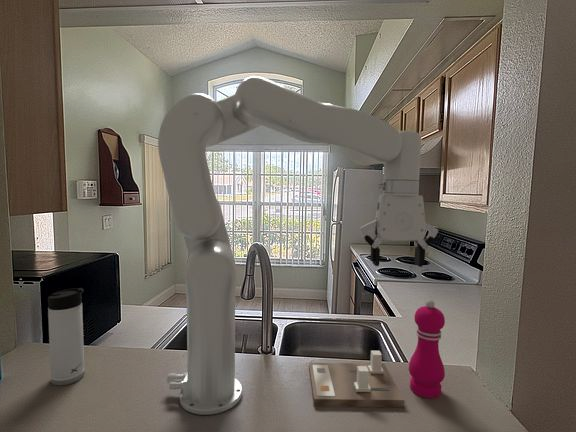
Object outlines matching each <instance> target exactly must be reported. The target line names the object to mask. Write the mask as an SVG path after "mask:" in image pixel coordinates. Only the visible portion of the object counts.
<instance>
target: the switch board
mask: <svg viewBox="0 0 576 432" xmlns="http://www.w3.org/2000/svg"><path fill="white" fill-rule="evenodd" d="M308 365H309V366H308V370H309V372H308V373H309V379H310V385H311V394H312V401H313V407H340V408H341V407H345V408H346V407H349V408H351V407H353V408H354V407H355V408H366V407H367V408H405V399H404V396H403V395H402V393H401V391H400V389H399V388H398V386H397V384H396V382H395V381H394V379H393V377H392V375H391V374H390V371H389V370H388V369H387V367H386V364H385V363H381V367H382V369H383V371H384V374H377V373H370V372H369V382H368V383H369V386H370V388H371V392H356V390H355V387H354V382H357V366H367V368H368V365H370V363H362V362H361V363H360V362H359V363H353V362H350V363H349V362H348V363H346V362H345V363H344V362H338V363H337V362H309V363H308ZM368 370H369V369H368Z"/></svg>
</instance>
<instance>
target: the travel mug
mask: <svg viewBox="0 0 576 432" xmlns="http://www.w3.org/2000/svg"><path fill="white" fill-rule="evenodd" d="M83 293H84V288H83V287H79V288H78V287H76V288H75V287H74V288H67V289H62V290H58V291H56V292H54V293H51V294H50V295H49V296H48V297H47V303H48V304H47V305H48V306H47V310H48V311H47V318H48V337H49V338H48V342H49V363H50V364H49V367H50V383H51V384H52V385H55V386H67V385H71V384H73V383H76V382H78V381H79V380H81V379H82V378H83V377H84V376H85V352H84V349H85V347H84V322H83V321H84V320H83V315H84V314H83V302H82V301H83V300H82V294H83Z"/></svg>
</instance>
